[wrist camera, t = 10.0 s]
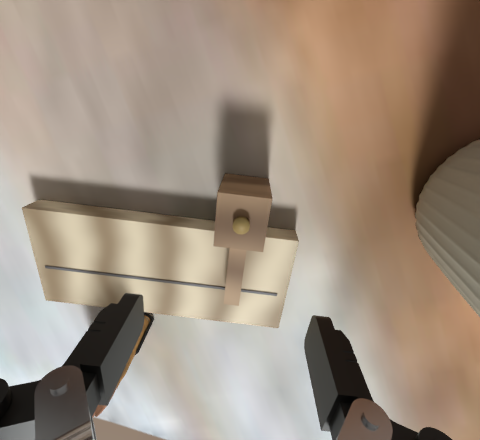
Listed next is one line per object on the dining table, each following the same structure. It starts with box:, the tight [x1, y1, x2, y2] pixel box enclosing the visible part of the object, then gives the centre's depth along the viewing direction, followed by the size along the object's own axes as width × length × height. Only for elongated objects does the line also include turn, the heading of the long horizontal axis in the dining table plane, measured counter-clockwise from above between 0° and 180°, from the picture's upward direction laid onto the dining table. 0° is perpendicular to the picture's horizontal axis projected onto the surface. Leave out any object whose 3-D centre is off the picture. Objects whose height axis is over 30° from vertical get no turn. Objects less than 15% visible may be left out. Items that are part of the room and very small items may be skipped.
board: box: [22, 200, 299, 328], centre depth 30 cm, size 28×12×2 cm, turn 84°
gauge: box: [213, 173, 272, 306], centre depth 26 cm, size 12×4×7 cm, turn 174°
